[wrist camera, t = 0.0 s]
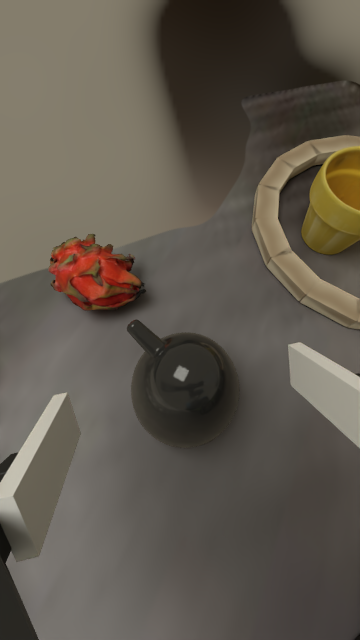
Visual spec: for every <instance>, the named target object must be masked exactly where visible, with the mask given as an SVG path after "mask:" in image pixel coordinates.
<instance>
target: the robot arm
mask: <svg viewBox="0 0 360 640" xmlns="http://www.w3.org/2000/svg"><path fill="white" fill-rule="evenodd" d="M288 350H289V366H290V381H291V386H292V387H293V388H294V389H295V390H296V391H298V392H299V393H300V394H301V395H302V396H303V397H304V398H305V399H306V400H307V401H309V402H310V403H311V404H312V405H313V406H314V407H315V408H316V409H317V410H318V411H319V412H321V413H322V414H323V415H324V416H325V417H326V418H327V419H328V420H329V421H330V422H332V423H333V424H334V425H335V426H336V427H337V428H338V429H339V430H340V431H341V432H342V433H344V434H345V435H346V436H347V437H348V438H349V439H350V440H351V441H352V442H353V443H355V444H356V445H357V446H358V447H359V448H360V374H359V373H358V374H353V373H352V372H350V371H348V370H347V369H345V368H343V367H342V366H340V365H338V364H336V363H335V362H333V361H331V360H330V359H328V358H326V357H324V356H323V355H321V354H319V353H318V352H316V351H314V350H312V349H311V348H309V347H307V346H306V345H304V344H302V343H301V342H299V343H294V344H290V345H288ZM80 434H81V432H80V429H79V426H78V423H77V420H76V417H75V414H74V411H73V407H72V404H71V401H70V398H69V395H68V392H67V393H63V394H58V395H54V396H53V398H52V399H51V401H50V403H49V404H48V406H47V407H46V409H45V411H44V412H43V414H42V416H41V417H40V419H39V420H38V422H37V424H36V425H35V427H34V429H33V430H32V432H31V433H30V435H29V437H28V438H27V440H26V442H25V443H24V445H23V446H22V448H21V450H20V451H19V453H14V454H11V455H10V456H9V457H8V458H6V459H5V460H4V461H3V462H2V463H1V464H0V640H39V639H38V637H37V634H36V632H35V630H34V628H33V625H32V623H31V621H30V618H29V616H28V614H27V611H26V609H25V607H24V604H23V602H22V600H21V597H20V595H19V593H18V591H17V588H16V586H15V584H14V581H13V579H12V577H11V574H10V572H9V570H8V568H7V566H6V564H5V563H6V561H7V558H8V556H9V554H10V552H11V551H12V553H13V555H14V557H15V559H16V562H19V561H23V560H26V559H30V558H34V557H38V556H39V555H40V552H41V549H42V546H43V543H44V540H45V537H46V534H47V531H48V528H49V525H50V522H51V520H52V517H53V514H54V511H55V508H56V505H57V502H58V499H59V496H60V493H61V490H62V487H63V484H64V481H65V478H66V475H67V473H68V470H69V467H70V464H71V461H72V458H73V455H74V452H75V449H76V446H77V443H78V440H79V437H80ZM356 640H360V635H359V636H358V637H357V638H356Z"/></svg>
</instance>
